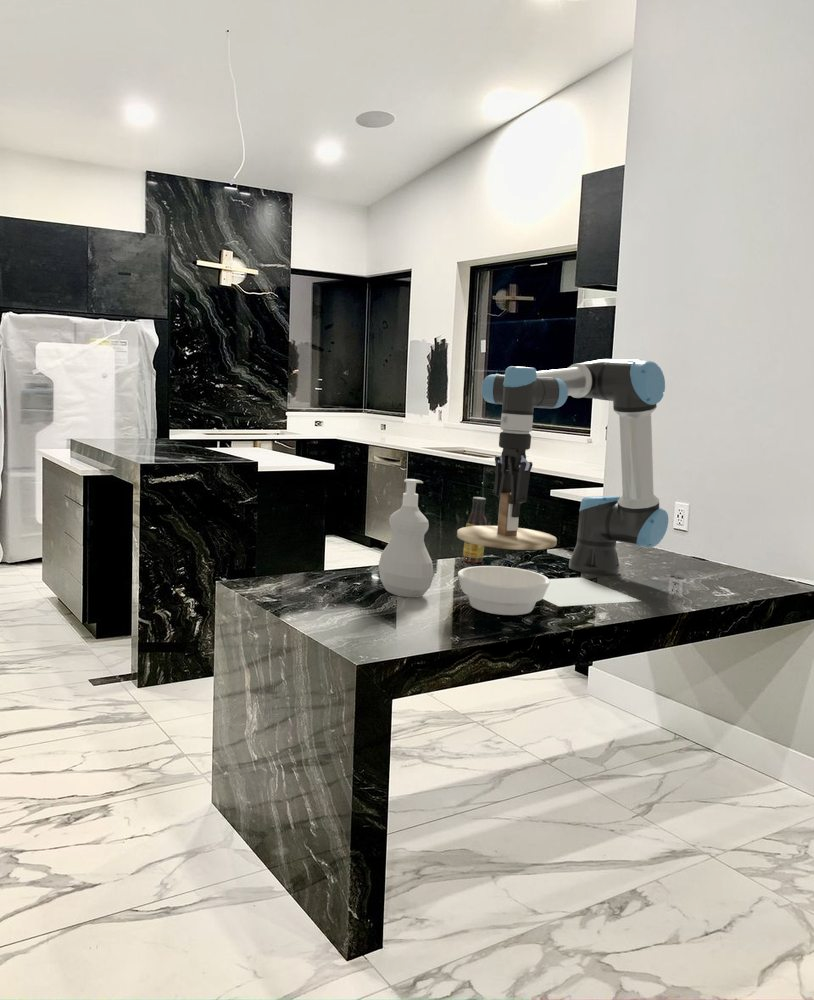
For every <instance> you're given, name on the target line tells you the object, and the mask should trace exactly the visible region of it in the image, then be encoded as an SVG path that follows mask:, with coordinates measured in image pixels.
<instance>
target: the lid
mask: <svg viewBox="0 0 814 1000" xmlns="http://www.w3.org/2000/svg"><path fill="white" fill-rule="evenodd" d="M508 501H511V492H510V493H501V494H500V506H499V505H498V516H499V519H498V520H497V525H486V526H469V527H466V526H465V527H464V526H463V527H461V528H459V529H457V531H456V533H457V534H456V537H457V538H458V539H459V540H461V541H463V542H464V541H466V542H469V543H472V544H476V545H481V546H484V547H487V548H493V549H494V548H496V549H503V550H516V551H520V550H521V551H536V550H537V551H538V550H547V549H551V548H552V549H553V548H554V547H556V546H557V545H558V544H557V541H558V539H557V537H556V536H554V535H552V534H550V533H547V532H544V531H541V530H535V529H529V528H525V527H523V528H522V527H518V531H507V518H508V506H509V503H508Z"/></svg>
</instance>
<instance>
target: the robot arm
mask: <svg viewBox="0 0 814 1000" xmlns="http://www.w3.org/2000/svg"><path fill="white" fill-rule="evenodd" d="M665 390H666V379H665V375H664V372H663V370H662V368H661V367H660V365H658V364H657V363H656V362H655V361H651V360H644V359H631V358H629V359H627V358H626V359H624V358H623V359H622V358H621V359H619V358H618V359H617V358H616V359H615V358H614V359H613V358H602V359H596V360H591V361H584V362H580V363H579V362H578V363H573V364H571V365H570V366H568V367H567V368H558V369H549V370H547V369H546V370H538V371H537V369H536V368H535V367H528V366H527V367H526V366H513V365H511V366H508V367H507V368H505V372H504V374H500V373H496V374H489V375H486V377H485V378H484V379H483V380H482V383H481V396H482V397H483V399H484V400H485V402H487V403H490V404H495V405H502V406H501V417H500V430H501V432H500V433H499V436H498V437H499V438H498V439H499V440H498V446H499V448H502V451H501V455H496V456H494V464H495V474H494V496H495V497H497V500H498V501H499V502H498V507H499V506H500V494H501V493H511V501H508V503H509V506H508V518H507V531H518V528H519V518H520V515H521V514H520V513H521V511H520V510H521V505H522V504H523V503H526V502H527V499H528V493H529V485H530V476H531V470H532V468H533V462H532V461H529V460H527V454H526V451H528V450H530V449H531V444H532V435H531V434H530V432H532V431H533V424H534V423H533V420H534V408H535V409H536V408H539V409H550V410H552V409H558V408H560V407H562V406H563V405H564V404H565V403H566V401H567V399H568V397H569V396H571V397H572V398H574V399H575V398H576V399H581V398H586V399H594V400H601V401H609V402H612V404H613V405H612V407H613V408H612V409H613V412H615V413H616V414H617V415H618V416H619V417H618V418H619V437H620V438H619V439H620V440H619V441H620V459H621V460H620V461H621V462H620V463H621V465H620V466H621V482H622V483H621V484H622V485H621V488H622V495H621V496H619V495H592V496H591V495H590V496H584V497H583V498H582V499H581V500H580V507H579V510H578V511H579V512H578V513H579V516H578V524H577V525H578V526H577V537H576V545H575V547H574V550H573V552H572V554H571V557H570V559H569V561H568V568H569V569H570V570H573V571H575V572H577V573H582V574H588V575H595V576H615V575H620V567H621V566H620V562H619V558H618V557H619V556H618V552H617V543H623V544H627V545H631V546H637V547H639V548H640V547H641V548H642V547H643V548H650V549H651V548H654V547H656V546H657V545H659V544H660V542H662V540H663V538H664V537H665V535H666V532H667V530H668V526H669V514H668V512H667V511H666V510H665V509H663V508H661V507H660V499H659V498H658V497H657V495H655V494H654V467H653V464H654V463H653V462H654V461H653V460H654V459H653V434H652V432H653V431H652V430H653V429H652V413H654V411H655V410H656V409H657V404H658V403H660V402H661V401H662V399H663V398H664V393H665ZM497 517H498V519H499V515H498V516H497Z"/></svg>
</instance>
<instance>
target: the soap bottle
mask: <svg viewBox="0 0 814 1000" xmlns="http://www.w3.org/2000/svg"><path fill="white" fill-rule="evenodd" d="M403 481H404V483H406V489H405V490H406V491H405V492H403V493H402V504H401V507H400V508H399V509H397V510H396V511H394V512H392V514H391V515H390V516H389V519H388V523H389V526H390V529H391V538H390V540H389V542H388V544H387V545H386V546H385V548H384V549H383V551H381V554H380V557H379V558H380V559H379V562H378V573H379V577H380V578H379V579H380V582H381V583H382V585H383V587H384V589H385V590H386V591H387V592H388V593H389V594H392V595H394V596H397V597H401V598H417V597H418V598H419V597H423V596H424V595H425V594H426V593H427V592H428V590H429V589H431V586H432V582H433V579H434V575H435V574H434V573H435V572H434V566H433V560H432V558H431V556H430V554H429V552H428V549H427V547H426V544H425V540H424V539H425V535H426V534H427V532H428V531H429V527H430V525H429V524H430V523H429V519H427V517H426V516H425V515H424V514H423V513H422V512H421V510H420V508H419V506H418V505H419V494H418V493H416V487H417V484H424V481H422V480H420V479H415V478H405V479H404V480H403Z"/></svg>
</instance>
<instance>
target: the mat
mask: <svg viewBox="0 0 814 1000" xmlns="http://www.w3.org/2000/svg"><path fill="white" fill-rule="evenodd" d="M548 579H549V580H550V584H549V586H548V588H547V590H546V593H545V595H544V597H543V598H542V600H544V601H546V602H548V603H550V604H552V605H555V606H557V607H561V608H562V607H572V606H573V607H574V606H575V607H576V606H589V605H591V606H592V605H603V604H604V605H606V604H607V605H608V604H620V603H635V602H636V603H637V602H641V600H640V599H637V598H635V597H632V596H629V595H628V594H625V593H623V592H620V591H617V590H614V589H613V588H610V587H607V586H606V585H602V584H599V583H597V582H594V581H591V580H589V579H586V578H585V577H566V578H548Z"/></svg>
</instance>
